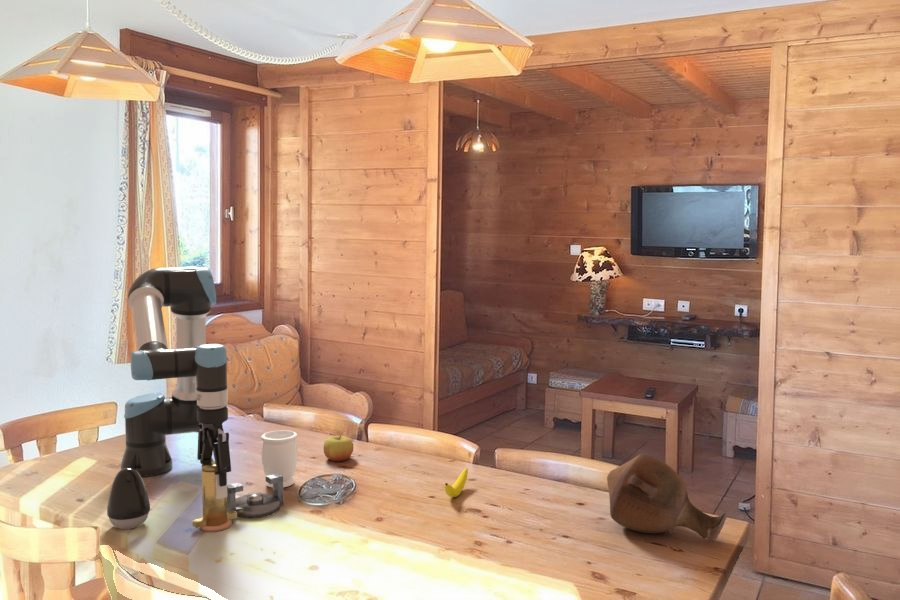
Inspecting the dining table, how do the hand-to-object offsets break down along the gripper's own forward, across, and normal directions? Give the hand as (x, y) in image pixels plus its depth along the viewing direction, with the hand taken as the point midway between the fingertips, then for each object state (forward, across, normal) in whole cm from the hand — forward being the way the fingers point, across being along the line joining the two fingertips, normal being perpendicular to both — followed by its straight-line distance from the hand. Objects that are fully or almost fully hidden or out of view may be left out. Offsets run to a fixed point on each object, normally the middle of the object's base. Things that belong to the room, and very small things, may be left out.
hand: (214, 492), depth 200 cm
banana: (+9, +22, +63) cm, 67 cm away
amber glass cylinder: (+8, 0, 0) cm, 8 cm away
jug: (+9, +76, +85) cm, 115 cm away
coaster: (+9, 0, 0) cm, 9 cm away
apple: (+9, -27, +54) cm, 61 cm away
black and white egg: (+9, -14, -17) cm, 24 cm away
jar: (+9, -18, +28) cm, 34 cm away
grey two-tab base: (+9, -4, +13) cm, 16 cm away
